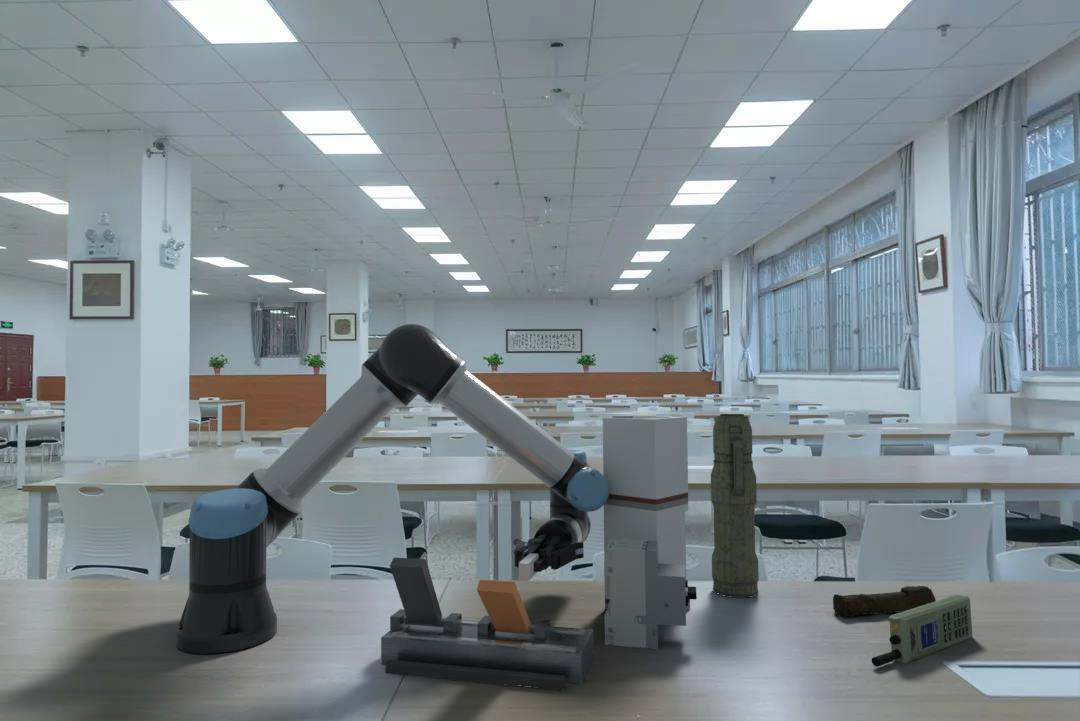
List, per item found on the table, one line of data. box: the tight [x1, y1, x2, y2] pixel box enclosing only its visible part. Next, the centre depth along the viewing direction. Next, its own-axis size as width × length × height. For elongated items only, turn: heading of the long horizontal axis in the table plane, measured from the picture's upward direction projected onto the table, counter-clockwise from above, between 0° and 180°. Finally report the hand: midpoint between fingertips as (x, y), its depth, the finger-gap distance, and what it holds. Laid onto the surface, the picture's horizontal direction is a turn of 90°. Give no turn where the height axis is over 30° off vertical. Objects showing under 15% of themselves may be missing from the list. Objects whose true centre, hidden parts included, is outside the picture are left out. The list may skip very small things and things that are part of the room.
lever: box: [476, 579, 535, 634], centre depth 99 cm, size 6×2×13 cm
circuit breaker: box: [603, 539, 698, 649], centre depth 113 cm, size 8×14×15 cm, turn 78°
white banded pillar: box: [602, 415, 691, 611], centre depth 128 cm, size 11×11×35 cm
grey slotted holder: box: [380, 608, 594, 684], centre depth 104 cm, size 30×10×6 cm, turn 76°
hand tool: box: [832, 585, 937, 619], centre depth 124 cm, size 19×4×5 cm, turn 96°
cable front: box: [384, 660, 566, 691], centre depth 97 cm, size 26×1×1 cm, turn 76°
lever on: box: [389, 557, 444, 627], centre depth 104 cm, size 6×2×13 cm
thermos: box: [710, 413, 760, 599], centre depth 139 cm, size 9×12×35 cm
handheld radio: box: [871, 594, 974, 667], centre depth 107 cm, size 7×3×25 cm
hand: (523, 572), depth 107 cm, fingers closed
